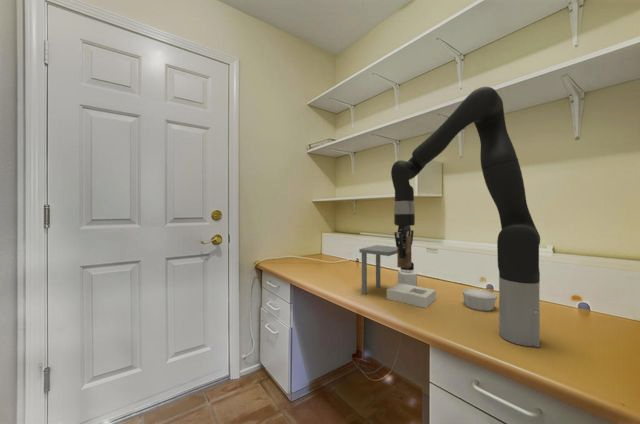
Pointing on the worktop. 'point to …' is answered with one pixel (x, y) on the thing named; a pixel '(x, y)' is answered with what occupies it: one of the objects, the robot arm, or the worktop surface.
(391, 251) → the grey miniature table
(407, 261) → the peg
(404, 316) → the worktop surface
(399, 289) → the socket block
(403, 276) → the medicine bottle
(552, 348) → the worktop surface
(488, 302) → the ramekin
